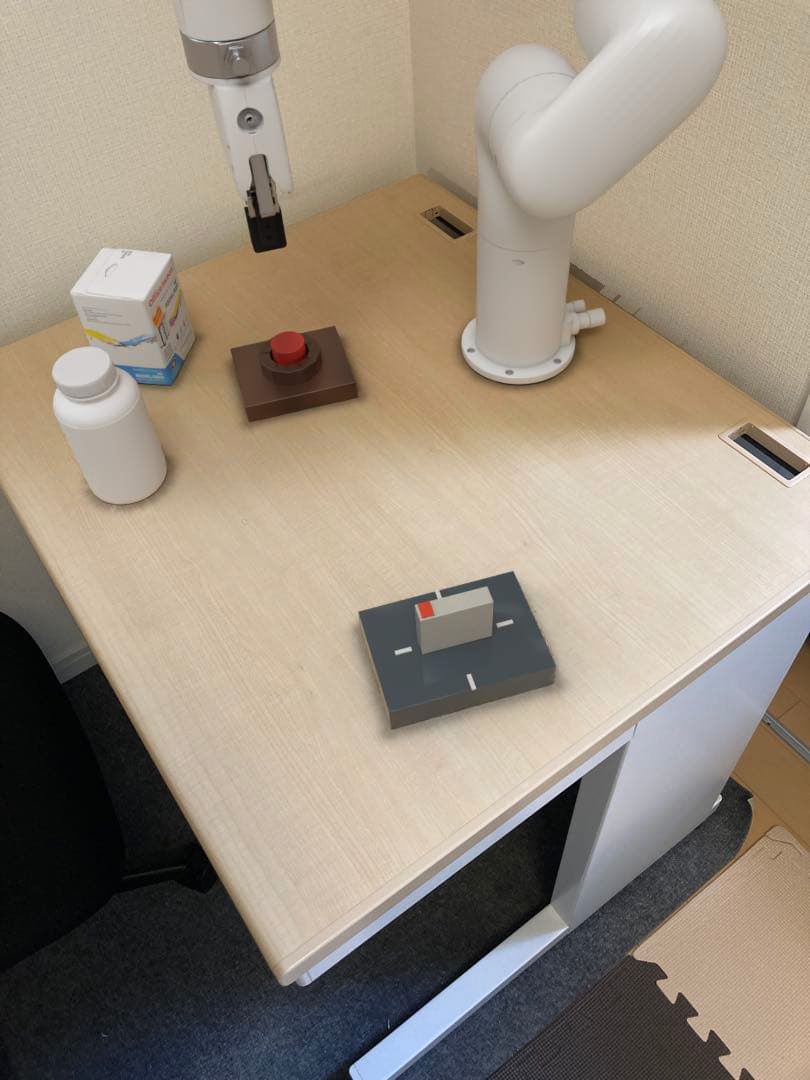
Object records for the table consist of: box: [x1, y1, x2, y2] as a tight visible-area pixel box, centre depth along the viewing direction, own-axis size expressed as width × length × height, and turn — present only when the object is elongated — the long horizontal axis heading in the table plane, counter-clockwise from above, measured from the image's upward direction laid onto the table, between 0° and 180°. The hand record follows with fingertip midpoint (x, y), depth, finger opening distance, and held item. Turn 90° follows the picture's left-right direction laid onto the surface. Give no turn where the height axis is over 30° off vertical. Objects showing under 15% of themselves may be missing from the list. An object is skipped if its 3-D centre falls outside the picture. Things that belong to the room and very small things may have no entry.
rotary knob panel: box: [357, 570, 557, 731], centre depth 76 cm, size 14×10×3 cm
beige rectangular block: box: [415, 586, 493, 654], centre depth 73 cm, size 6×2×5 cm, turn 106°
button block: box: [230, 325, 359, 423], centre depth 99 cm, size 12×10×4 cm
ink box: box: [69, 247, 196, 386], centre depth 99 cm, size 9×8×12 cm
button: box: [271, 330, 306, 365], centre depth 97 cm, size 4×4×2 cm
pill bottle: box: [51, 346, 168, 505], centre depth 87 cm, size 8×8×15 cm
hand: (269, 245), depth 87 cm, fingers closed
